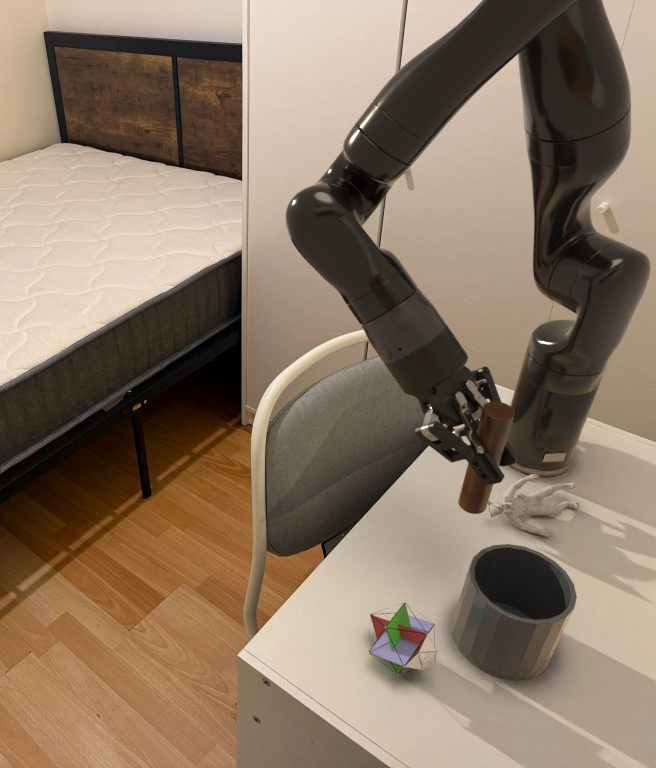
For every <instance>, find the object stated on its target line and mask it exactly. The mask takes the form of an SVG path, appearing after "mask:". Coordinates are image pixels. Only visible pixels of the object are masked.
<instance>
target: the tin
mask: <svg viewBox="0 0 656 768" xmlns="http://www.w3.org/2000/svg"><path fill="white" fill-rule="evenodd" d="M577 598H578V597H577V591H576V587H575V584H574V582H573V580H572V579H571V577H570V576H569V574H568V572H567V571H566V570H565V569H564V568H563V567H561V565H560V564H559V563H557V562H556V561H555V560H554V559H552V558H551V557H549V556H547V555H545V554H543V552H540V551H538V550H535V549H533V548H530V547H527V546H524V545H517V544H513V543H512V544H511V543H503V544H493V545H490V546H487V547H485V548H482V549H481V550H479V551H478V552H477V553H476V554H475V555H474V556H473V557H472V559H471V562H470V565H469V566H468V571H467V574H466V576H465V580H464V583H463V587H462V590H461V592H460V596H459V599H458V603H457V606H456V609H455V612H454V616H453V619H452V627H451V628H452V629H451V631H452V636H453V639H454V642H455V644H456V645H457V648H458V649H459V651H460V652H461V653H462V655H463V656H464V657H465V658H466V659H467V660H468V661H469V662H470V663H471V664H472V665H474V666H475V667H476V668H478V669H480V670H481V671H483V672H485V673H487V674H489V675H490V676H494V677H497V678H501V679H505V680H510V681H511V680H513V681H521V680H527V679H531V678H534V677H536V676H538V675H539V674H540V673H542V672H543V671H544V670H545V669H546V667H547V666H548V665H549V663H550V662H551V660H552V657H553V655H554V653H555V651H556V648H557V646H558V644H559V642H560V640H561V638H562V635H563V634H564V632H565V629H566V627H567V625H568V622H569V621H570V619H571V617H572V615H573V613H574V611H575V607H576V602H577Z"/></svg>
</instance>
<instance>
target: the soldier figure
mask: <svg viewBox="0 0 656 768" xmlns="http://www.w3.org/2000/svg"><path fill="white" fill-rule="evenodd" d="M535 479H540V476H539V475H537V474H531V475H530V474H528V475H527V476H525V477H523V478H521V479H519V480H517V481H516V482H514V483H513V484H511V485H510V486H509V488H508V489H507V490H506V491H505V493H503V495H502V500H501V501H502V502H501V504H500V503H499V502H493V501H491V500H489V501H488V504H487V506H488V512H489V515H490V519H494V518H495V517H497V516H500V515H502V514H503V515H505V517H506V519H507V521H508V522H510V523H511V524H513V525H514V526H516V527H517V528H518V529H519V530H522V531H526V532H528V533H531V534H537V535H541V536H545V537H546V536H547V537H550V536H551V535H552V534H551V533H552V531H550V529H541V528H537V527H534V526H532V525H529V524H528V523H525V522H523V521H522V520H521V519H520V518H522V519H524V518H527V517H531V516H547V515H560V514H561V513H562V511H563V510H564V509H565V508H567V507H568V508H573V509H578V508H580V506H581V504H580V502H578V501H570V500H563V502H561V503H558V504H553V505H550V504H540V503H541V502H542V501H543V500H545V499H546V498H549V497H551V496H553V495H554V494H555V493H556V492H557V491H560V490H562V489H563V490H574V489H575V488H576V487H577V486H576V485H577V484H576V483H575V482H568V483H565V482H563V483H559V484H552V485H548V486H543V487H541V488H540V489H539V490H536V491H533V492H532V493H530V494H523V493H519V494H517V495H516V492H517V491H519V490H520V489H521V488H522V487H524V486H525V484H527V482H536V480H535ZM515 495H516V496H515Z"/></svg>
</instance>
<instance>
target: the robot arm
mask: <svg viewBox="0 0 656 768" xmlns="http://www.w3.org/2000/svg"><path fill="white" fill-rule="evenodd" d="M603 1H604V0H481V1H480V2H479V3H478V4H477V5H476V6H475V7H474V9H472V10H471V12H469V14H467V15H466V16H465V17H464V18H463V19H462V20H461V21H460V22H458V24H456V25H455V26H454V27H453V28H451V30H449V31H448V32H446V33H445V34H444V35H442V36H441V37H440V38H438V39H436V41H434V42H433V43H431V44H430V45H429V46H427V47H426V48H425V49H423V50H421V51H420V52H419V53H418V54H417V55H415V56H414V57H412V58H411V59H410V60H409V61H408V62H406V63H405V64H404V65H403V66H402V67H401V68H400V69H398V70H397V71H396V72H395V73H394V75H392V76H391V78H390V79H389V80H388V81H387V82H386V83H385V85H384V86H383V87H382V88H381V89H380V91H379V92H378V93H377V94H376V95H375V97H374V98H373V99H372V101H371V102H370V104H369V105H368V106H367V107H366V109H365V110H364V111H363V113H362V114H361V115H360V117H358V119H357V121H356V122H355V123H354V124H353V126H352V127H351V129H350V130H349V132H348V134H347V135H346V137H345V139H344V141H343V143H342V144H343V146H342V150H341V152H340V153H339V154H338V156H337V157H336V158H335V160H333V162H332V163H331V165H330V166H329V167H328V169H327V170H326V171H325V172H324V174H323V175H322V176H321V177H320V178H319V179H318V180H317V181H316V182H315V183H313V184H312V185H309V186H307V187H305V188H303V189H301V190H300V191H298V192H297V193H296V194H295V195H294V196H293V197H292V198H291V200H290V201H289V203H288V205H287V207H286V210H285V216H284V217H285V218H284V222H285V228H286V231H287V234H288V236H289V238H290V240H291V243H292V244H293V246H294V247H295V249H296V251H297V252H298V253H299V254H300V255H301V257H302V258H303V259H304V260H305V262H307V263H308V265H310V266H311V267H312V269H314V270H315V271H316V272H317V273H318V274H319V275H320V277H322V279H324V280H325V281H326V282H327V283H328V284H329V285H331V286H332V287H333V288H334V289H335V290H336V291H337V292H338V293H339V294H340V296H341V298H342V299H343V301H344V303H345V304H346V306H347V308H348V309H349V310H350V311H351V313H352V315H353V316H354V317H355V319H356V320H357V322H358V323H359V324H360V326H361V328H362V330H363V331H364V334H365V336H366V338H367V339H368V342H369V343H370V345H371V347H372V348H373V350H374V351H375V352H376V354H377V355H378V357H379V358H380V360H381V361H382V362H383V364H384V365H385V367H386V369H387V370H388V371H389V373H390V374H391V376H392V377H393V378H394V380H395V381H396V383H397V384H398V386H399V387H400V389H401V391H403V393H404V394H406V395H410V396H412V397H415V398H416V399H417V401H418V403H419V406H420V411H422V413H423V414H424V419H423V423H422V425H420V426H417V427H416V428H415V429H414V433H415V436H417V438H418V439H420V440H421V442H424V443H425V444H426V445H428V446H429V447H430V448H431V449H433V450H434V451H436V453H438V454H439V455H441V456H442V457H443V458H444V459H446V460H447V461H448V462H449V463H456V462H459V461H463V460H465V461H466V462H467V464H468V463H469V464H470V466H471V467H472V469H473V470H474V472H476V474H477V475H478V477H479V479H480V480H481V481H482V482H483V483H485V484H487V485H491V484H493V485H495V484H500V483H502V481H503V480H504V479H505V474H504V472H503V471H502V470H501V468H500V467H502V468H503V467H508V466H510V467H512V468H513V469H515V470H516V471H519V472H521V473H524V474H526V475H531V474H537V475H539V477H554V476H555V477H556V476H558V475H561V474H563V473H565V472H566V471H567V470H568V469H569V467H570V465H571V462H572V461H573V460H572V459H573V456H574V453H575V450H576V447H577V445H578V443H579V439H580V438H581V435H582V432H583V429H584V427H585V424H586V421H587V419H588V416H589V414H590V411H591V408H592V406H593V403H594V401H595V399H596V396H597V394H598V390H599V388H600V385H601V382H602V380H603V377H604V375H605V372H606V370H607V367H608V364H609V362H610V359H611V357H612V355H613V354H614V353H615V352H616V350H617V348H618V347H619V346H620V344H621V342H622V341H623V338H624V336H625V334H626V332H627V330H628V327H629V325H630V324H631V321H632V318H633V316H634V315H635V312H636V311H637V308H638V306H639V304H640V302H641V300H642V298H643V295H644V293H645V291H646V289H647V287H648V284H649V280H650V276H651V271H652V270H651V268H652V265H651V261H650V258H649V257H648V255H647V254H646V253H645V252H643V251H641V250H639V249H637V248H634V247H632V246H631V245H628V244H625V243H624V242H621V241H619V240H616V239H614V238H612V237H609V236H607V235H605V234H603V233H600V232H598V231H597V229H596V228H595V227H594V225H593V221H592V220H593V219H592V211H591V207H592V206H591V205H592V198H593V197H594V196H595V194H596V193H598V191H599V190H600V189H602V187H603V186H604V185H605V184H606V183H607V181H609V180H610V179H611V178H612V176H613V175H614V174H615V172H617V170H618V169H619V168H620V166H621V165H622V163H623V162H624V160H625V158H626V156H627V154H628V151H629V149H630V145H631V135H632V97H631V96H632V94H631V86H630V85H631V84H630V79H629V75H628V72H627V71H628V70H627V68H626V65H625V61H624V57H623V55H622V52H621V49H620V46H619V43H618V41H617V38H616V35H615V32H614V30H613V27H612V25H611V23H610V20H609V17H608V14H607V11H606V8H605V6H604V2H603ZM516 56H517V60H518V71H519V80H520V81H519V82H520V90H521V100H522V116H523V127H524V128H523V129H524V138H525V146H526V153H527V159H528V163H529V170H530V171H529V172H530V181H531V192H532V193H531V194H532V196H531V197H532V207H533V208H532V209H533V242H532V243H533V244H532V246H533V247H532V275H533V280H534V285H535V287H536V288H537V290H538V291H539V292H540V293H541V294H542V295H543V296H544V297H546V298H547V299H548V300H550V301H551V302H554V303H555V304H558V305H559V306H560V307H563V308H565V309H567V310H568V311H570V312H572V313H574V314H575V315H576V318H575V319H570V318H569V319H568V318H562V319H561V318H559V319H553V320H548V321H544V322H542V323H540V324H538V325H537V326H536V327H535V328H534V329H533V330H532V332H531V334H530V337H529V341H528V344H527V347H526V350H525V354H524V356H523V361H522V364H521V368H520V371H519V375H518V378H517V381H516V384H515V388H514V392H513V395H512V398H511V402H510V404H509V406H511V407H512V408H513V410H514V412H515V415H514V418H513V421H512V425H511V428H510V431H509V435H508V438H507V441H506V444H505V448H504V451H503V454H502V458H501V461H500V464H499V467H498V465H497V464H496V462H495V461H494V459H493V458H492V457H491V455H490V454H489V452H488V451H487V450H485V448H484V446H483V444H482V442H481V440H480V438H479V436H478V434H477V429H478V425H479V421H480V417H481V413H482V410H483V406H484V405H485V404H486V403H488V402H493V401H497V402H502V400H501V397H500V394H499V392H498V388H497V386H496V383H495V381H494V377H493V375H492V373H491V370H490V369H489V367H488V366H482V367H479V368H475V369H474V370H471V369H470V368H469V367H467V366H466V364H467V363H468V360H469V356H468V353H467V352H466V350H465V349H464V347H463V346H462V344H461V343H460V341H459V339H457V337H456V335H455V334H454V332H452V330H451V328H450V327H449V325H448V324H447V322H446V321H445V320H444V318H443V316H442V315H441V314H440V313H439V312H440V311H438V310H437V307H436V306H435V305H434V304H433V302H431V300H430V299H429V298H428V297H427V296H426V295H425V294H424V293H423V291H422V290H421V289H420V288H419V286H418V284H416V282H415V280H414V279H413V277H412V276H411V275H410V273H409V271H408V270H407V268H406V267H405V266H404V264H403V263H402V262H401V260H400V259H399V257H397V255H396V254H395V253H394V252H393V251H392V250H390V249H388V248H384V247H379V245H377V244H376V243H375V241H374V240H373V238H371V236H370V235H369V234H368V233H367V232H366V231H367V230H365V228H364V227H363V226H364V225H365V224H366V222H367V221H368V220H369V219H370V218H371V217H372V215H373V214H374V212H375V211H376V210H377V208H378V207H379V206H380V204H381V203H382V201H383V200H384V199H385V197H386V196H387V194H388V193H389V191H390V190H391V189H392V187H393V186H394V184H395V183H396V182H397V181H398V180H399V179H401V177H403V175H404V174H406V172H407V171H408V170H409V169H410V168H411V167H412V166H413V164H415V163H416V161H417V160H418V159H419V158H420V157H421V155H422V154H423V153H424V152H425V151H426V150H427V149H428V147H429V146H430V145H431V144H432V143H433V142H434V141H435V139H436V138H437V137H438V136H439V135H440V133H441V132H442V131H443V130H444V129H445V127H446V126H447V125H448V124H449V123H450V122H451V121H452V120H453V118H454V117H455V116H456V115H457V114H458V113H459V112H460V111H461V110H462V109H463V107H465V105H466V104H468V102H469V101H470V100H471V99H472V98H473V97H474V96H475V95H476V94H477V93H478V92H479V91H480V90H481V89H482V88H483V87H484V86H485V85H486V84H487V83H488V82H489V81H490V80H492V79H493V78H494V77H495V76H496V75H497V74H498V73H499V72H500V71H501V70H502V69H503V68H504V67H506V66H507V65H508V64H509V63H510V62H511V61H512V60H513V59H514V58H515V57H516ZM488 400H489V401H488ZM463 425H464V426H463ZM459 426H461V427H459ZM457 427H459V428H457ZM462 437H465V438H466V439H467V441H468V443H469V444H467V443H466V442H465V441H464V440H463V438H462Z"/></svg>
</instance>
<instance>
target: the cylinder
mask: <svg viewBox="0 0 656 768" xmlns="http://www.w3.org/2000/svg"><path fill="white" fill-rule="evenodd" d="M487 402H488V403H486V404H485V405H484V406H483V410H482V413H481V417H480V419H479V425H478V429H477V434H478V436H479V438H480V440H481V442H482V444H483V446H484V448H485V450H487V451H488V452H489V454H490V455H491V457H492V458H493V459H494V461H495V462H496V464H497V465H498V467H499V468H500V466H499V464H500V461H501V458H502V454H503V451H504V448H505V444H506V441H507V438H508V435H509V431H510V428H511V425H512V421H513V418H514V415H515V412H514V410H513V408H512V407H511V406H510V404H508V403H505V402H502V401H501V402H497V401H493V402H490V401H487ZM463 477H464V478H463V480H462V481H463V482H462V485H461V489H460V492H459V497H458V501H457V502H458V503H457V504H458V506H459V507H460V509H462V511H464V512H466V513H469V514H472V515H479V514H483V513H484V512H485V511H486V510H487V506H488V501H490V497H491V494H492V490H493V487H494V484H491V485H487V484H485V483H483V482H482V481H481V480H480V479H479V477H478V475H477V474H476V472H474V470H473V469H472V467H471V466H470V464H469V463H468V462H467V466H466V471H465V474H464V476H463Z"/></svg>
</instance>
